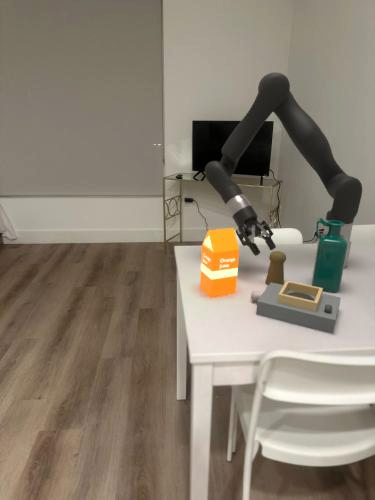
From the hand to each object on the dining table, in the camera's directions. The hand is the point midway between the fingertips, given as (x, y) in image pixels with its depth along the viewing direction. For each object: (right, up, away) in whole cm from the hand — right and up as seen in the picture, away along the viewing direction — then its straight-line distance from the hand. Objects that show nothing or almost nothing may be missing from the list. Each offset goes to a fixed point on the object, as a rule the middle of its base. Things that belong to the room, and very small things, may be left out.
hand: (266, 251), depth 118 cm
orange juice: (-16, -12, -5) cm, 21 cm away
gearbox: (+4, -17, -16) cm, 24 cm away
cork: (+3, -11, 0) cm, 11 cm away
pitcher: (+18, -11, -1) cm, 22 cm away
